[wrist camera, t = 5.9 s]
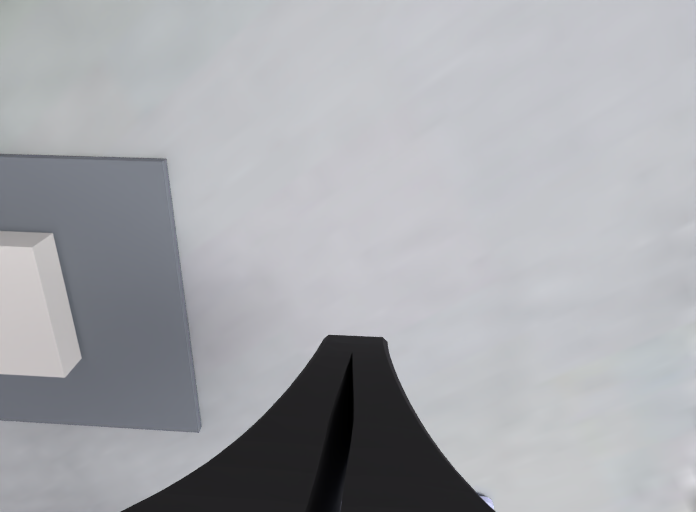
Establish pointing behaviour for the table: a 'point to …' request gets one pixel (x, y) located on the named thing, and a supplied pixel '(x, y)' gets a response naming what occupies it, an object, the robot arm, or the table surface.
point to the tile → (34, 308)
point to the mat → (107, 292)
